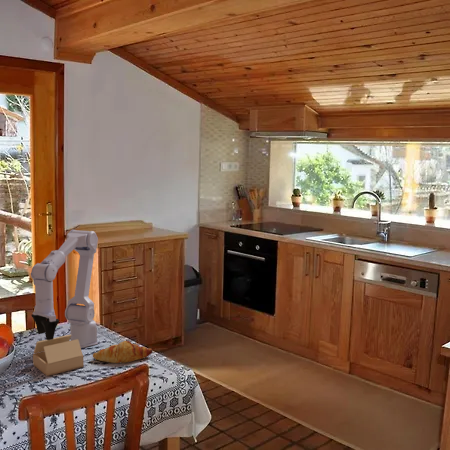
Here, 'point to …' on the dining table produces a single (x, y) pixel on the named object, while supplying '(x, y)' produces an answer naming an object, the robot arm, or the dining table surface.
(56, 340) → the flap
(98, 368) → the dining table surface
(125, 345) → the croissant
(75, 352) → the flap
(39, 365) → the carton
